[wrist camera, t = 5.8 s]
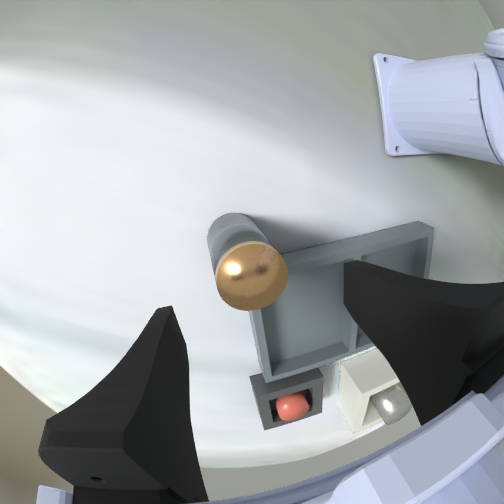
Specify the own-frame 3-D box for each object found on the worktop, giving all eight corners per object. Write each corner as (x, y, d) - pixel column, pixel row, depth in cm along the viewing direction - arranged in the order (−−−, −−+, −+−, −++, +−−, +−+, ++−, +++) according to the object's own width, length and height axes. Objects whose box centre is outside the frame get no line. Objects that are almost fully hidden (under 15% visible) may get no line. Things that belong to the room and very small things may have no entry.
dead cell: (387, 361, 27) (416, 397, 22) (382, 380, 28) (408, 415, 23) (361, 372, 26) (389, 412, 21) (358, 391, 28) (382, 428, 22)
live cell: (254, 207, 18) (284, 238, 13) (262, 255, 20) (290, 300, 14) (202, 219, 18) (209, 255, 12) (213, 267, 19) (224, 317, 14)
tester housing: (312, 358, 25) (323, 376, 22) (313, 395, 27) (321, 412, 25) (249, 376, 24) (255, 396, 22) (258, 411, 26) (264, 430, 24)
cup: (403, 336, 27) (428, 361, 23) (392, 381, 30) (410, 405, 26) (340, 362, 26) (362, 394, 22) (336, 405, 29) (352, 434, 25)
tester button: (301, 383, 24) (309, 398, 22) (302, 400, 25) (309, 414, 23) (272, 392, 24) (278, 408, 22) (275, 408, 25) (280, 423, 23)
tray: (418, 220, 22) (433, 228, 20) (407, 315, 26) (418, 325, 24) (239, 263, 19) (245, 277, 18) (260, 367, 24) (265, 382, 22)
